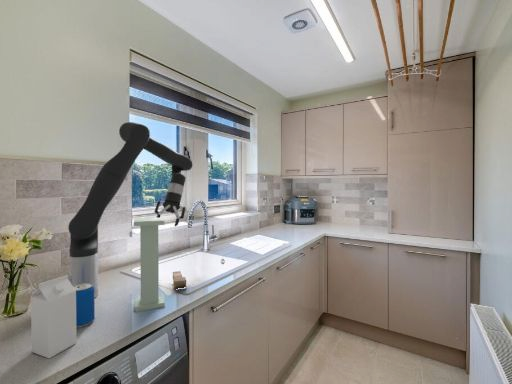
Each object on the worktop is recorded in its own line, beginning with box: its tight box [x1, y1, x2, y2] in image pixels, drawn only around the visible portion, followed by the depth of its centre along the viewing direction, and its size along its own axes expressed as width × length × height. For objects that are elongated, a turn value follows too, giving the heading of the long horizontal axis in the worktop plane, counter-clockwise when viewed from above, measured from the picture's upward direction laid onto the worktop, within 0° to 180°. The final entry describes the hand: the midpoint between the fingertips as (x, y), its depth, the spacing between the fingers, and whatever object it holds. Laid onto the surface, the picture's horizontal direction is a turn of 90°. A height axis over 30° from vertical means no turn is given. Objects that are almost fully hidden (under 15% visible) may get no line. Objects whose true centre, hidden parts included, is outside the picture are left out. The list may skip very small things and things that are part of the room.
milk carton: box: [30, 274, 77, 359], centre depth 70 cm, size 7×7×19 cm
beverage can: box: [74, 283, 96, 328], centre depth 82 cm, size 6×6×12 cm
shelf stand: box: [133, 217, 166, 312], centre depth 95 cm, size 9×10×32 cm
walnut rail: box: [172, 270, 187, 291], centre depth 117 cm, size 16×5×4 cm, turn 23°
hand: (166, 224), depth 127 cm, fingers open, 8 cm apart
